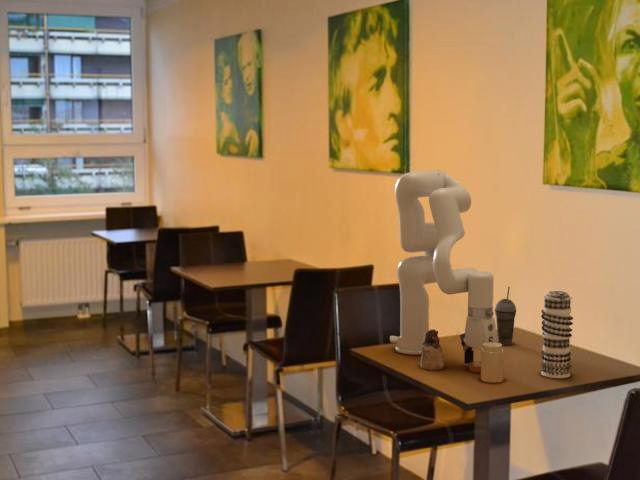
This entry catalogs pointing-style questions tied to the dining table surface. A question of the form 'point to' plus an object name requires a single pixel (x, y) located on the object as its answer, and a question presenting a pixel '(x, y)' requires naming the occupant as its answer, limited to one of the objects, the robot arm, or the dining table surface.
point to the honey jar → (492, 362)
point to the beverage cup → (505, 320)
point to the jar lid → (475, 366)
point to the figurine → (432, 352)
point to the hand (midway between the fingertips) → (479, 366)
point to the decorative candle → (556, 335)
